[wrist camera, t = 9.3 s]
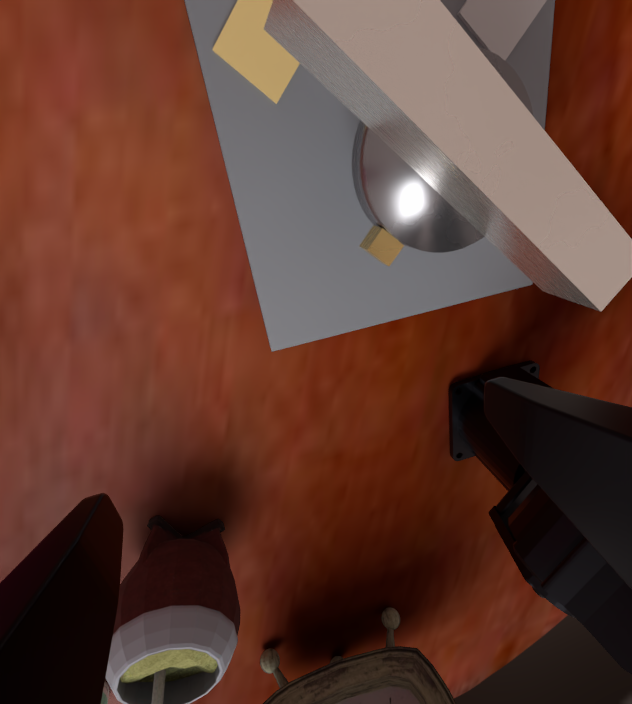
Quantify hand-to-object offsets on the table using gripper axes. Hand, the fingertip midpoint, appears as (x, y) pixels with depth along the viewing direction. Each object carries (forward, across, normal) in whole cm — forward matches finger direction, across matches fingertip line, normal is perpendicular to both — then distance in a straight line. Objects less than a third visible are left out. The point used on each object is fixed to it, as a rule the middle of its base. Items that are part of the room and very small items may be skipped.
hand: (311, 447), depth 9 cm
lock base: (+13, -8, -5) cm, 16 cm away
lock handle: (+9, -8, -5) cm, 13 cm away
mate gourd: (+13, +9, +16) cm, 23 cm away
